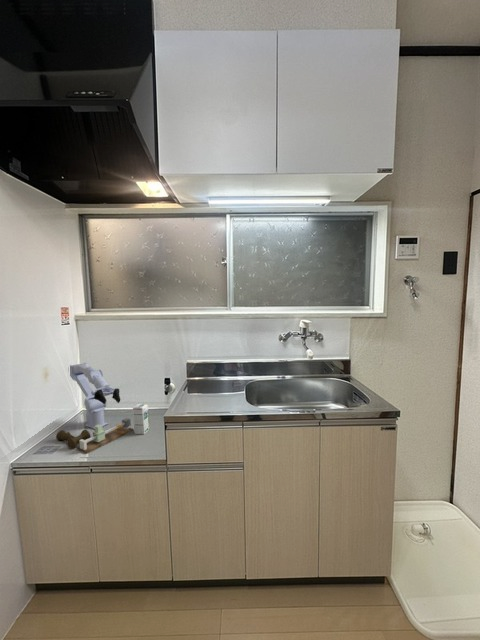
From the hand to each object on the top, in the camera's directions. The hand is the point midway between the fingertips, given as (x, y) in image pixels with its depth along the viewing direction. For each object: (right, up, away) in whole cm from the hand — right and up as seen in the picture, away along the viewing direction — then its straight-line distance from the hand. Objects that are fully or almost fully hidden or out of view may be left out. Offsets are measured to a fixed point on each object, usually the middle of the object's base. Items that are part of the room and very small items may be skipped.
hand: (112, 401), depth 159 cm
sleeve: (-5, -18, -3) cm, 19 cm away
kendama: (-18, -20, -2) cm, 27 cm away
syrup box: (+12, -18, +9) cm, 24 cm away
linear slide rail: (-3, -18, +1) cm, 19 cm away
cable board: (-3, -19, +1) cm, 20 cm away
